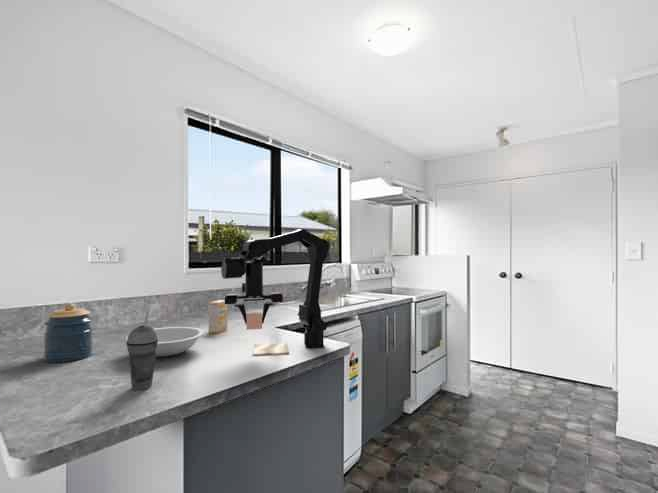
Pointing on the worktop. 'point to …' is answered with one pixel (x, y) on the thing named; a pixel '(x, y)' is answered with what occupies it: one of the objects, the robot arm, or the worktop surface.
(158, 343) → the soup bowl
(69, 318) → the canister
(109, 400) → the worktop surface
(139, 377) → the beverage cup
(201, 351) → the worktop surface
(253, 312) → the coral cube
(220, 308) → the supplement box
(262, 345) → the birch board
